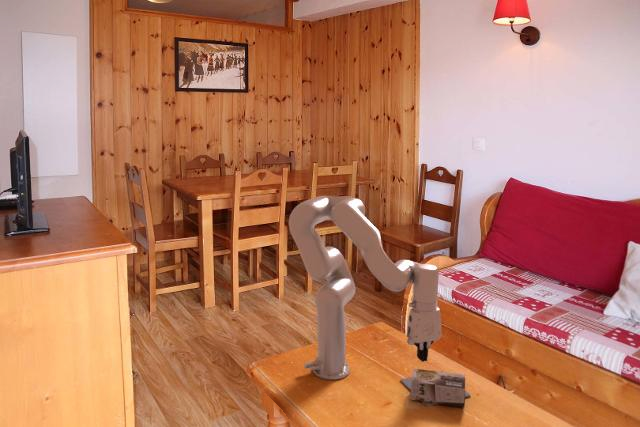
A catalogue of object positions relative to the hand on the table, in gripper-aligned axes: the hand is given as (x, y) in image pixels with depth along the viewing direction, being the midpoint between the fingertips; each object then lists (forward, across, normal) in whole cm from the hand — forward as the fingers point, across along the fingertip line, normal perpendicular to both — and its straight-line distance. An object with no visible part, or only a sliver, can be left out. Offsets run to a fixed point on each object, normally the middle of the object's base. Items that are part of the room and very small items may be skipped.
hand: (422, 359), depth 166 cm
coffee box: (+7, -4, 0) cm, 8 cm away
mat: (+11, +5, 0) cm, 12 cm away
